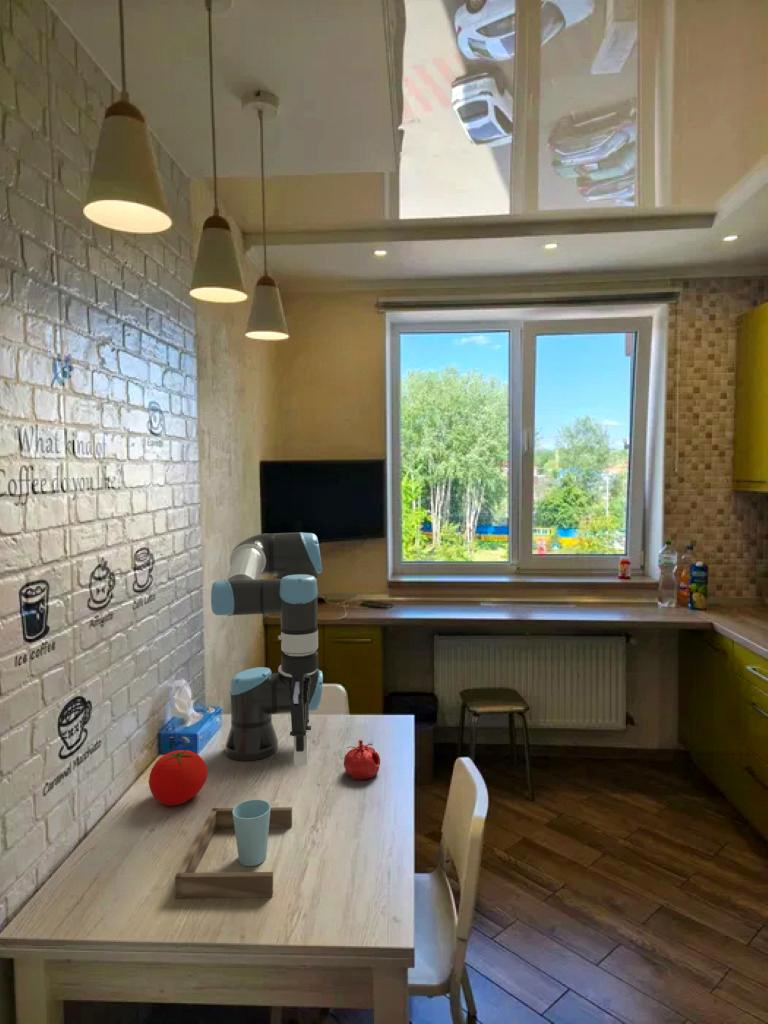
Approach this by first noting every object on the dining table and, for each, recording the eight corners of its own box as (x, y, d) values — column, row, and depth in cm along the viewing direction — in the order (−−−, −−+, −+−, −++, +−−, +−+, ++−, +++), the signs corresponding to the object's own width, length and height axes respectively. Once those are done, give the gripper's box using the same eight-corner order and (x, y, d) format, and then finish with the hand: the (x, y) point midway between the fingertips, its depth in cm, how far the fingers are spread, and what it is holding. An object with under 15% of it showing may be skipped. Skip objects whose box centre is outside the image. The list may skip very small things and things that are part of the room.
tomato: (163, 785, 152) (162, 741, 152) (214, 787, 151) (214, 742, 151) (138, 812, 140) (137, 763, 139) (194, 814, 139) (193, 765, 138)
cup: (228, 854, 123) (227, 805, 122) (264, 843, 127) (263, 795, 126) (239, 874, 116) (238, 822, 116) (276, 861, 120) (275, 811, 120)
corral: (213, 825, 134) (212, 808, 134) (292, 824, 134) (291, 807, 134) (175, 898, 109) (175, 877, 109) (272, 897, 109) (271, 876, 109)
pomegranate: (348, 786, 151) (347, 751, 151) (340, 769, 161) (338, 735, 161) (385, 780, 154) (384, 745, 154) (374, 763, 164) (373, 730, 163)
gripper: (286, 642, 127) (288, 749, 128) (275, 660, 114) (277, 779, 115) (321, 642, 127) (322, 749, 128) (314, 660, 114) (315, 779, 115)
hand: (301, 763), depth 122 cm, fingers closed
